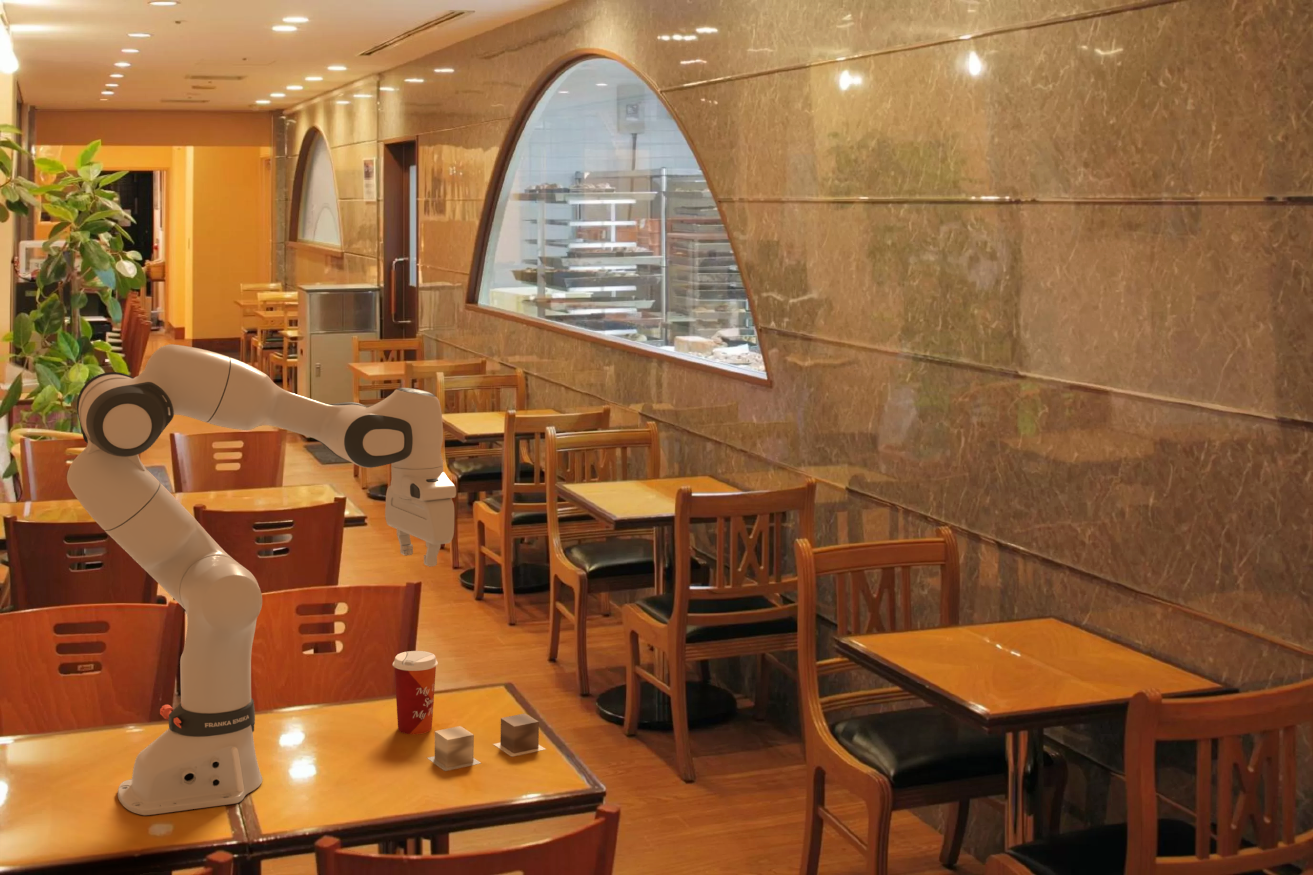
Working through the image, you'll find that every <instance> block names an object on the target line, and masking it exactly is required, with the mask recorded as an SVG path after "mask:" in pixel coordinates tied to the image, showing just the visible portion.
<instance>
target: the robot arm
mask: <svg viewBox="0 0 1313 875" xmlns="http://www.w3.org/2000/svg"><path fill="white" fill-rule="evenodd" d="M76 410H77V417H78V421H79V425H80V429H81V433H82V434H81V435H82V438H83V440H84V442H86V447H85V448H84V449H83V450H82V451H81V452H80V453H79V454H77V456H76V457H75V458H74V459H73V461H72V462H71V464H70V466H69V468H68V471H67V474H66V482H67V485H68V487H69V489H70V490H71V491H72V492H71V493H72V494H73V495H74V497H75V498H76V499H77V501H78V502H79V503H80V505H81V506H82V508H83V509H84V510H85V511H86V512H87V513H88V515H89V516H90V517H91V518H92V520H93V521H94V522H96V524H98V526H99V527H100V528H101V529H102V530H104V532H105V533H106V534H107V535H108V536H110V538H111V539H113V541H115V542H116V544H117V545H118V546H119V547H120V548H122V549H123V551H125V552H126V553H127V554H128V555H129V556H130V557H131V558H132V559H133V561H134V562H136V563H137V564H138V565H139V566H140V567H141V568H142V569H143V570H144V571H145V572H147V574H148V575H149V576H150V577H151V578H152V579H153V580H154V581H155V582H156V583H158V585H160V586H161V587H162V588H163V589H164V591H166V592H167V593H168V595H170V596H171V597H172V598H173V599H174V600H175V601H176V602H177V603H178V604H179V605H180V606H181V607H182V608H183V609H184V610H185V613H186V621H187V622H186V623H187V624H186V625H187V626H186V634H185V641H184V647H183V650H182V654H181V656H180V661H179V664H180V665H179V667H180V702H179V704H178V705H177V706H176V707H175V708H173V707H172V706H171V705H170V704H164V705H162V706H161V708H160V709H159V714H160V715H161V716H162V718H163V719H165V720H168V728H167V729H166V730H165V731H164V732H162V734H161V735H159V736H158V737H157V738H155V740H153V741H152V742H151V743H150V744H148V745H147V746H146V747H145V748H144V749H142V750H141V751H140V752H139V753H138V754H137V756H136V757H135V761H134V764H133V769H132V776H131V778H130V779H127V780H124V781H122V782H121V783H120V784H119V786H118V789H117V798H118V800H119V802H120V804H121V805H122V806H123V807H124V808H125V809H126V810H127V811H129V812H131V813H134V814H137V815H141V816H150V815H158V814H166V813H173V812H181V811H188V810H193V809H194V810H195V809H196V810H197V809H205V808H211V807H218V806H225V805H226V806H227V805H234V804H235V805H236V804H238V803H241V802H242V801H243V800H244V798H246V795H248V794H249V793H251V792H253V791H255V790H256V789H258V788H259V787H260V786H261V784H263V783H262V782H263V776H262V774H261V771H260V766H259V763H258V758H257V755H256V749H255V748H256V747H255V741H254V732H255V725H256V710H255V704H254V703H255V700H254V699H253V698H252V648H253V643H254V637H255V632H256V626H257V620H258V617H259V615H260V613H261V610H262V606H263V596H262V591H261V588H260V586H259V583H258V580H257V578H256V577H255V576H254V574H253V573H252V572H251V571H250V570H249V569H247V568H246V567H245V566H243V565H242V564H240V562H238V561H237V560H235V559H234V558H233V557H232V556H231V555H230V554H229V553H227V552H226V551H225V550H224V549H223V548H222V547H221V546H220V544H218V542H216V541H215V539H214V538H213V537H212V536H211V535H210V534H209V533H208V532H207V531H206V529H205V528H204V527H203V526H202V524H200V523H199V521H197V519H196V518H195V516H193V515H192V513H190V511H189V510H187V509H186V507H185V506H184V505H183V504H182V503H181V502H180V501H179V500H178V499H177V498H176V497H175V496H174V495H173V494H172V493H171V492H170V491H169V490H168V489H167V488H166V486H164V484H162V482H160V481H159V479H157V477H156V476H154V474H153V473H152V472H150V470H148V468H147V467H146V466H145V465H144V463H143V462H142V460H141V458H140V456H139V455H140V454H142V453H144V452H146V451H147V450H148V449H150V448H151V447H152V446H153V445H154V444H155V442H156V441H157V440H158V439H159V437H160V436H161V434H162V433H163V432H164V430H165V429H166V428H167V427H168V425H169V424H170V423H171V422H172V421H173V419H174V416H175V415H176V416H177V415H178V416H182V417H188V418H191V419H195V420H197V421H200V422H203V423H206V424H209V425H214V426H218V427H221V428H227V429H231V430H240V431H241V430H242V431H250V430H253V429H255V428H258V427H261V426H270V427H271V426H272V427H276V428H279V429H283V430H287V431H290V432H293V433H296V434H299V435H303V436H306V437H309V438H312V439H314V440H315V441H317V442H319V443H320V444H321V445H322V446H323V447H324V448H325V449H326V450H327V451H329V452H330V453H331V454H332V455H333V456H335V457H338V458H340V459H343V460H346V461H347V462H351V463H352V464H354V465H356V466H358V467H361V468H364V469H365V468H367V469H372V468H378V467H382V466H387V465H391V466H390V467H391V468H390V470H391V472H390V474H391V481H390V485H389V486H388V487H387V490H386V493H385V510H384V518H385V522H386V525H387V526H389V527H391V528H393V529H396V536H397V539H398V544H399V545H400V546H399V548H400V549H399V550H400V551H399V552H400V554H401V555H403V556H406V557H407V556H412V555H413V554H414V550H413V549H414V545H413V544H412V541H411V536H413V537H415V538H417V539H420V540H422V541H424V542H425V547H426V554H424V555H423V564H424V565H425V566H427V567H429V568H430V567H436V566H437V565H438V555H439V552H440V549H441V545H444V544H445V545H446V544H450V543H451V542H452V540H453V538H454V535H455V534H454V533H455V504H454V501H453V499H454V498H456V497H457V496H456V495H457V487H456V485H455V484H454V483H453V482H452V480H450V479H449V477H448V476H447V474H446V472H445V471H444V460H443V457H442V445H443V441H444V426H443V414H442V413H443V412H442V406H441V403H440V400H439V398H438V397H437V395H435V394H434V393H432V392H430V391H426V390H421V389H417V388H412V387H411V388H409V387H399V388H396V389H394V391H393V392H392V393H391V394H390V395H388V396H387V397H386V398H384V399H382V400H380V401H379V402H377V403H375V404H373V405H370V406H368V407H367V406H366V405H364V404H363V403H359V402H354V401H343V402H335V403H327V402H321V401H319V400H315V399H312V398H309V397H306V396H304V395H300V394H296V393H294V392H290V391H289V390H286V389H283V388H282V387H280V386H279V385H277V384H276V383H275V382H274V381H273V380H272V379H271V378H270V376H269V375H268V374H266V373H264V372H263V371H261V370H260V369H258V368H256V367H254V366H252V365H250V364H247V363H246V362H243V361H241V360H238V359H237V358H233V357H231V356H228V355H225V354H221V353H218V352H215V351H210V350H207V349H202V348H198V347H192V346H187V345H181V344H166V345H163V346H160V347H159V348H158V349H156V350H155V351H154V352H153V354H151V356H150V357H149V359H148V360H147V362H146V364H145V366H144V370H143V371H142V372H141V373H140V374H139V375H137V376H135V377H133V376H131V375H129V374H127V373H123V372H117V371H116V372H115V371H111V372H103V373H99V374H97V375H96V376H93V377H92V378H91V379H89V380H88V381H87V382H86V383H85V384H84V385H83V387H82V388H81V390H80V392H79V393H78V396H77V401H76ZM452 498H453V499H452Z"/></svg>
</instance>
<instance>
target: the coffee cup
mask: <svg viewBox="0 0 1313 875" xmlns="http://www.w3.org/2000/svg"><path fill="white" fill-rule="evenodd" d="M438 665H439V662H438V659H437V657H436V655H435V654H434V653H432V652H429V651H424V650H411V651H410V650H409V651H404V652H400V653H397V655H396V656H395V657H394V661H393V662H392V667H393V668H394V679H395V680H394V681H395V697H396V698H395V699H396V700H395V701H396V702H395V703H396V715H397V718H396V719H397V730H398V731H399V733H402V734H406V735H422V734H426V733H428V732H430V731H431V730H432V727H433V716H434V703H435V702H434V700H435V689H436V688H435V687H436V686H435V685H436V674H437V673H436V671H437V666H438Z"/></svg>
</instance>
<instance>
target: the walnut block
mask: <svg viewBox="0 0 1313 875" xmlns="http://www.w3.org/2000/svg"><path fill="white" fill-rule="evenodd" d="M539 728H540V721H539V720H537V719H535V718H534V717H532V716H530V715H529V714H527V713H521V714H515V715H511V716H504V717H500V741H499V743H500V745H501V746H503V747H505V748H506V749H508V750H509V751H511V752H512V753H514V754H515V753H519V752H524V751H529V750H533V749H538V746H539V745H540V744H539V741H540V738H539V737H540V736H539V734H540V729H539Z"/></svg>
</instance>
